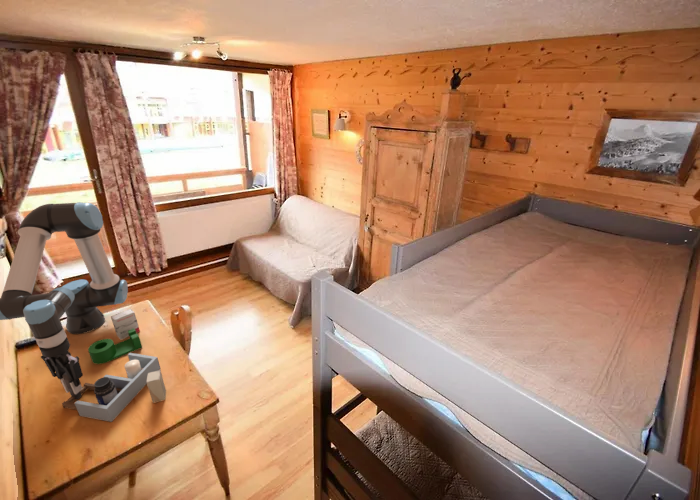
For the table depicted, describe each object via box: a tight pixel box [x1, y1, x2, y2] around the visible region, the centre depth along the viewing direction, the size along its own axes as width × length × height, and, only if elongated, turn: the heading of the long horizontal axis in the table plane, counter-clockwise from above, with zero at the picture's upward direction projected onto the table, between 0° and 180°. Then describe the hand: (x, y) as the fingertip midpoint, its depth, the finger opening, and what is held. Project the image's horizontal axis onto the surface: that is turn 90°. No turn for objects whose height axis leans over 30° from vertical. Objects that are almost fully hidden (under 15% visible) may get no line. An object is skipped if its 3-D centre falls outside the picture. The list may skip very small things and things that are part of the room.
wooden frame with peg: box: [61, 372, 122, 411], centre depth 120 cm, size 10×20×12 cm, turn 81°
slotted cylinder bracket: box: [87, 329, 143, 365], centre depth 145 cm, size 18×9×6 cm, turn 135°
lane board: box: [73, 352, 161, 423], centre depth 126 cm, size 26×13×6 cm, turn 171°
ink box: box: [110, 308, 141, 341], centre depth 155 cm, size 9×5×12 cm, turn 141°
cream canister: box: [124, 360, 143, 379], centre depth 131 cm, size 5×5×8 cm
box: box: [146, 369, 167, 404], centre depth 123 cm, size 5×4×11 cm
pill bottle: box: [93, 376, 118, 406], centre depth 120 cm, size 6×6×11 cm
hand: (74, 390), depth 122 cm, fingers closed on wooden frame with peg, 3 cm apart
